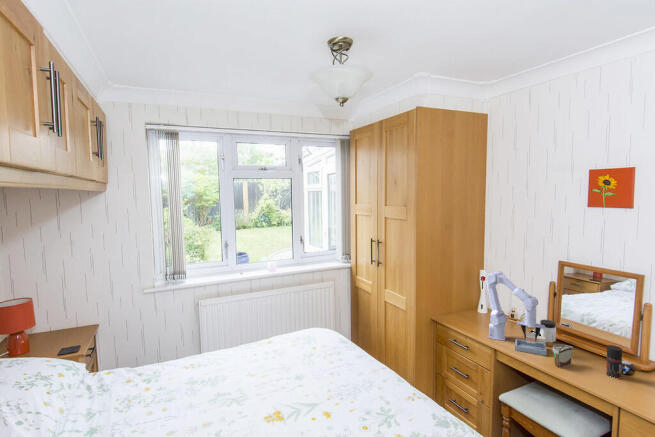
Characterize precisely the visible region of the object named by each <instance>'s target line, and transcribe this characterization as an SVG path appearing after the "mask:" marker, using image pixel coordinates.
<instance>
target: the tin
mask: <svg viewBox="0 0 655 437" xmlns="http://www.w3.org/2000/svg"><path fill="white" fill-rule="evenodd" d="M525 340H526V342H527V343H533V344H535V342H536V340H535V333H534V332H529V331H528V332H527V331H526V338H525Z"/></svg>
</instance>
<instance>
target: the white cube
mask: <svg viewBox="0 0 655 437" xmlns="http://www.w3.org/2000/svg"><path fill="white" fill-rule="evenodd" d="M536 342H538V343H544V344H545V345H546V342H545V337H543V336H539V335H538V336H537V340H536Z"/></svg>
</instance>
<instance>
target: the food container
mask: <svg viewBox="0 0 655 437" xmlns="http://www.w3.org/2000/svg"><path fill="white" fill-rule="evenodd" d="M551 351H552V352H553V356H554V365H555V367H557V368H559V369H561V368H565V367H568V366H570V365H572V360H573V359H572V357H573V351H574V347H573V346H571V345H567V344H562V343H561V344H559V343H558V344H554V345H553V347H552V350H551Z"/></svg>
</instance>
